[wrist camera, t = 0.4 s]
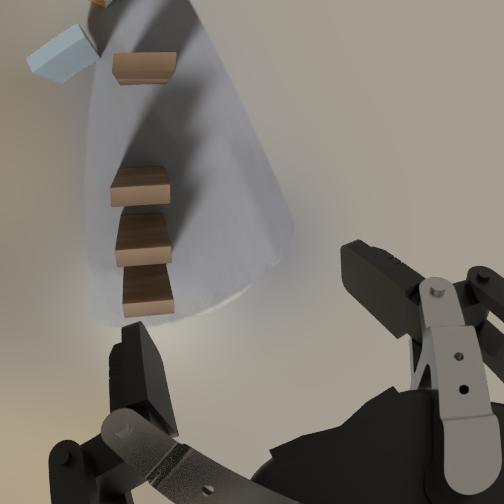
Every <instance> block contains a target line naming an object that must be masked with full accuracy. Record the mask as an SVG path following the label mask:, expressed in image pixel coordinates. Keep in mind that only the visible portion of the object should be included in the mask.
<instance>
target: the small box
mask: <svg viewBox="0 0 504 504" xmlns="http://www.w3.org/2000/svg"><path fill="white" fill-rule="evenodd" d="M89 1H91V2H93V3H96V4H98V5H100V6H102V7H104V8H107V7H108V5H109V4H110V3H111V2H112V1H113V0H89Z"/></svg>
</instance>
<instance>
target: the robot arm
mask: <svg viewBox="0 0 504 504" xmlns="http://www.w3.org/2000/svg"><path fill="white" fill-rule="evenodd" d="M341 272H342V282H343V284H344V287H345V288H346V290H347V291H348V292H349V293H350V294H351V295H352V296H353V297H354V298H355V299H356V300H357V301H358V302H359V303H360V304H362V305H363V306H364V307H365V308H366V309H367V310H368V311H369V312H370V313H371V314H372V315H373V316H374V317H375V318H376V319H377V320H378V321H379V322H380V323H381V324H382V325H383V326H385V327H386V328H387V329H388V330H389V331H390V332H391V333H392V334H393V335H394V336H395V337H396V338H397V339H399V338H400V337H402V336H403V335H405V334H406V333H408V334H409V335H410V340H409V346H410V363H411V385H410V390H408V391H404V392H400V393H399V392H398V391H397V390H396V389H395V388H394V387H393V386H392V387H391V388H389V389H387V390H386V391H384V392H383V393H381V394H379V395H378V396H376V397H374V398H373V399H371V400H369V401H368V402H366V403H365V404H364V405H363V406H362V407H361V408H360V409H359V410H358V411H357V412H356V413H354V414H353V415H352V416H351V417H350V418H349V419H348V420H347V421H346V422H344V423H343V424H342V425H341V426H339V427H336V428H332V429H328V430H324V431H320V432H316V433H312V434H307V435H303V436H300V437H298V438H296V439H294V440H292V441H289V442H287V443H285V444H282V445H280V446H278V447H275V448H273V449H270V450H269V451H270V453H271V455H272V457H273V458H271V459H270V460H269V461H267V462H266V463H265V464H264V465H262V466H261V467H260V468H259V469H258V470H257V471H256V473H255V474H254V475H253V477H252V478H251V479H250V480H249V479H247V478H245V477H243V476H241V475H239V474H237V473H235V472H233V471H231V470H230V469H228V468H226V467H224V466H222V465H221V464H219V463H217V462H215V461H214V460H212V459H210V458H208V457H207V456H205V455H203V454H202V453H200V452H198V451H197V450H195V449H194V448H192V447H190V446H188V445H186V444H183V445H182V444H180V443H179V442H177V441H175V440H174V439H173V438H174V437H177V436H179V434H178V430H177V426H176V422H175V417H174V413H173V409H172V404H171V400H170V395H169V391H168V386H167V382H166V376H165V371H164V366H163V362H162V359H161V356H160V354H159V351H158V350H157V348H156V346H155V344H154V342H153V341H152V339H151V337H150V335H149V334H148V332H147V330H146V328H145V326H144V325H143V323H142V322H141V321H139V322H136V323H133V324H130V325H127V326H125V327H122V332H121V333H122V342H121V343H118V344H115V345H114V346H113V348H112V351H111V353H110V356H109V369H110V370H109V378H110V379H109V394H110V414H109V415H108V416H107V417H106V418H105V420H104V421H103V424H102V426H101V433H100V434H99V435H97V436H96V437H94V438H92V439H91V440H89V441H87V442H85V443H84V444H82V445H79V444H77V443H76V442H74V441H72V440H63V441H61V442H59V443H58V444H56V445H55V446H54V447H53V449H52V450H51V452H50V455H49V481H50V494H51V503H52V504H134V502H133V498H132V494H131V490H132V489H134V488H135V487H137V486H139V485H141V484H143V483H144V482H146V481H148V482H149V484H150V485H151V486H152V487H154V488H155V489H156V490H157V491H159V492H160V493H161V494H163V495H164V496H165V497H167V498H168V499H169V500H171V501H172V502H173V503H175V504H504V404H501V403H495V402H490V397H489V392H488V385H487V380H486V375H485V370H484V365H483V362H484V363H485V364H486V365H487V366H488V367H489V368H490V369H491V370H492V371H493V372H494V373H495V374H496V375H497V376H498V377H499V378H500V380H501V381H502V382H503V383H504V334H503V333H501V332H500V331H499V330H498V329H497V328H496V327H495V326H494V325H492V324H491V323H490V322H489V321H488V320H487V316H488V314H489V311H491V312H492V313H493V314H494V315H496V316H497V317H498V318H499V319H500V320H501V321H503V322H504V278H503V277H501V276H500V275H498V274H497V273H496V272H494V271H493V270H491V269H490V268H487V267H484V266H475V267H472V268H470V269H469V271H468V273H467V278H466V280H464V281H461V282H457V283H453V284H452V283H451V282H449V281H448V280H446V279H443V278H439V277H431V278H427V279H425V278H424V277H423V276H421V275H420V274H419V273H417V272H416V271H414V270H413V269H411V268H410V267H409V266H407V265H406V264H404V263H403V262H402V263H401V261H400V260H398V259H397V258H394V256H393V255H391V254H390V253H388V252H387V251H385V250H383V249H380V248H376V247H370V246H369V245H367V244H366V243H364V242H363V241H361V240H356V241H353V242H350V243H348V244H345V245H343V246H342V247H341Z"/></svg>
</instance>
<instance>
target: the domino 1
mask: <svg viewBox="0 0 504 504" xmlns="http://www.w3.org/2000/svg"><path fill="white" fill-rule="evenodd" d="M98 59H100V57H99V55H98V53H97V51H96V50H95V48H94V46H93V45H92V43H91V42H90V40H89V39H88V37H87V36H86V34H85V33H84V31H83V30H82V28H81V27H80V25H79V24H78V23H76V24H75V25H73V26H72V27H70V28H69V29H67V30H66V31H64V32H62V33H61V34H59V35H58V36H56V37H55V38H54V39H52V40H51V41H49V42H48V43H46V44H45V45H43V46H42V47H41V48H39V49H38V50H37V51H35V52H34V53H33V54H32V55H30V56H29V57H28V58H26V60H27V62H28V64H29V66H30V69H31V70H32V73H34V74H37V75H40V76H43V77H45V78H48V79H50V80H53V81H56V82H58V83H61V84H62V83H63V82H65V81H66V80H68V79H69V78H70V77H72V76H73V75H75V74H76V73H78V72H79V71H81V70H82V69H84V68H85V67H87V66H88V65H90V64H92V63H93V62H95V61H97V60H98Z"/></svg>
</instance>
